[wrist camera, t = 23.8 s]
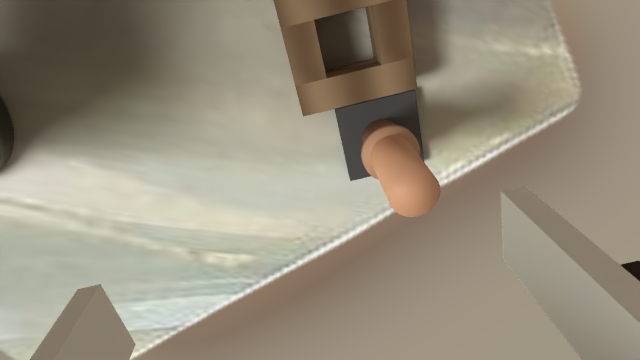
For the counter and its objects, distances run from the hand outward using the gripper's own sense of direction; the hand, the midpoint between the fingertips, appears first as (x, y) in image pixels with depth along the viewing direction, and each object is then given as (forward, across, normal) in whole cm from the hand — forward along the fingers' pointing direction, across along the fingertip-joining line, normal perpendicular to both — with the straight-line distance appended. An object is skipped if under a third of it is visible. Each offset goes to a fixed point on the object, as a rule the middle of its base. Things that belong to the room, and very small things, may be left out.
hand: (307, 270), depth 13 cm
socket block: (+34, +6, +4) cm, 35 cm away
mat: (+34, +8, -9) cm, 36 cm away
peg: (+33, +8, -9) cm, 35 cm away
